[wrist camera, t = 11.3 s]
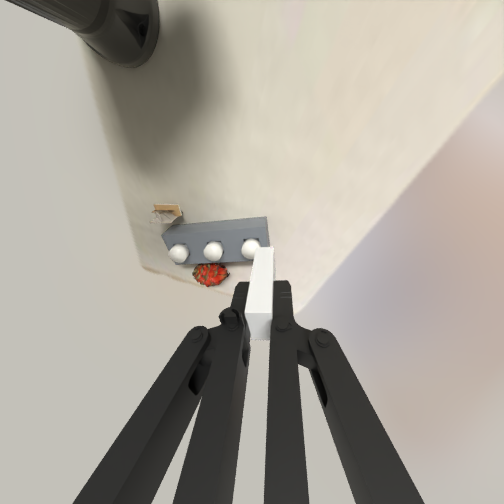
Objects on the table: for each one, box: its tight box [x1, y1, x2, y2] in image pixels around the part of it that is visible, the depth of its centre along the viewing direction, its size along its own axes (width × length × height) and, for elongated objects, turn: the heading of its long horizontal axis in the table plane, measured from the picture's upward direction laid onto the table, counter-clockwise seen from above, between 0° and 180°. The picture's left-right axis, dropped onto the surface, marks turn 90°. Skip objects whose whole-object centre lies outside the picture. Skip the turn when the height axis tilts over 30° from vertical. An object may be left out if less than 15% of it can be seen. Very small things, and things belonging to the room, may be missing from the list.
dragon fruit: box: [192, 262, 230, 287], centre depth 57 cm, size 8×8×12 cm
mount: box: [161, 217, 270, 265], centre depth 51 cm, size 10×28×6 cm, turn 99°
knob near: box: [241, 238, 261, 259], centre depth 47 cm, size 5×5×8 cm
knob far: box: [168, 243, 189, 263], centre depth 51 cm, size 5×5×8 cm
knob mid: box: [204, 241, 224, 261], centre depth 49 cm, size 5×5×8 cm
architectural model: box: [150, 204, 183, 223], centre depth 47 cm, size 3×7×7 cm, turn 92°
